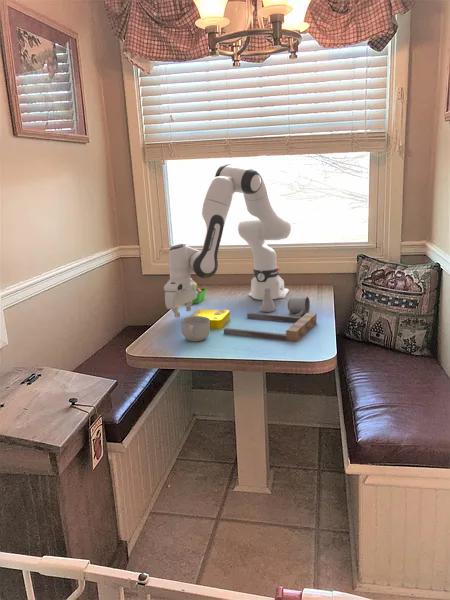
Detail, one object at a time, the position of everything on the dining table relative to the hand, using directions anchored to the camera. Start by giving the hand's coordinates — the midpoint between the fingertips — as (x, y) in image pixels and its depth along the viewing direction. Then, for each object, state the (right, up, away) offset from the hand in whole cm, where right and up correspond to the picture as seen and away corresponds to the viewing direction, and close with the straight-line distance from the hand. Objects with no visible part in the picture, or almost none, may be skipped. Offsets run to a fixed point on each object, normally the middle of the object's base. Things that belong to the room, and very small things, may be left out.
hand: (183, 313), depth 222 cm
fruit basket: (+4, +5, +31) cm, 31 cm away
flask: (+37, +1, +8) cm, 38 cm away
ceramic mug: (+50, 0, -1) cm, 50 cm away
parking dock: (+36, -5, -18) cm, 41 cm away
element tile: (+12, -4, -6) cm, 14 cm away
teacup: (+7, -10, -27) cm, 29 cm away
